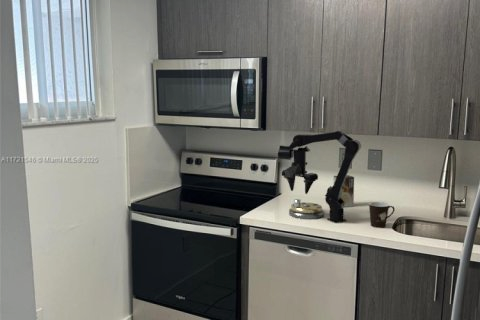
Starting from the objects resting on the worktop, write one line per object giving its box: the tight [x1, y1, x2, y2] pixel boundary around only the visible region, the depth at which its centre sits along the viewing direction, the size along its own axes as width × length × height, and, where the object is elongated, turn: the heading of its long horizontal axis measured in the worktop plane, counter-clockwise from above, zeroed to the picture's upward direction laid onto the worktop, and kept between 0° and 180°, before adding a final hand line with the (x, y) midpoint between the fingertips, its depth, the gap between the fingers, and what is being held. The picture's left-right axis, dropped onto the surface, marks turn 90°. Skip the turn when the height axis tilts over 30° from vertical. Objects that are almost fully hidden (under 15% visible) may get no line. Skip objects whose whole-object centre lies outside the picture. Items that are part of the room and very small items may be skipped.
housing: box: [288, 208, 325, 220], centre depth 217 cm, size 17×17×2 cm
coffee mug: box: [368, 201, 395, 229], centre depth 197 cm, size 12×9×10 cm
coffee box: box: [333, 174, 355, 208], centre depth 234 cm, size 9×6×16 cm
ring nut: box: [290, 198, 323, 214], centre depth 217 cm, size 15×15×6 cm
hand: (299, 192), depth 213 cm, fingers open, 9 cm apart
